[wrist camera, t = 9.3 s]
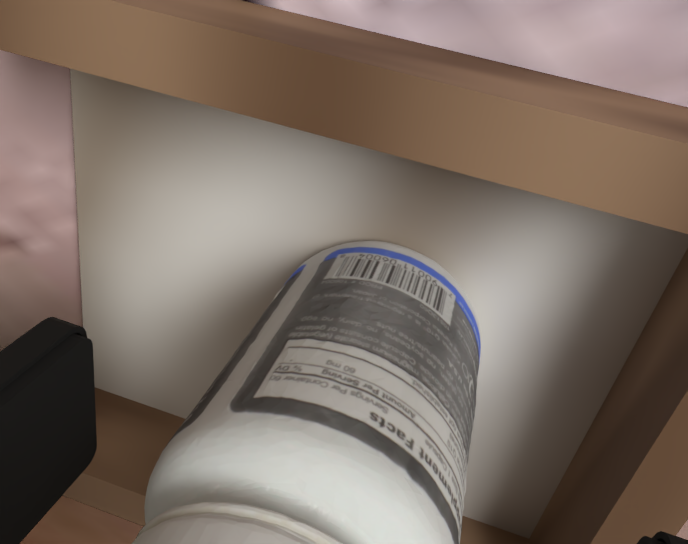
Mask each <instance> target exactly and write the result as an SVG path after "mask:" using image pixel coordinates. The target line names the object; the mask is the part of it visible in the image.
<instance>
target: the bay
mask: <svg viewBox="0 0 688 544" xmlns="http://www.w3.org/2000/svg"><path fill="white" fill-rule="evenodd" d="M0 50H3V51H7V52H11V53H14V54H18V55H22V56H26V57H29V58H33V59H37V60H41V61H44V62H48V63H52V64H55V65H59V66H63V67H67V68H70V79H71V98H72V118H73V138H74V158H75V177H76V197H77V217H78V237H79V257H80V276H81V296H82V316H83V328H84V329H85V330H86V333H87V338H89V339H91V341H92V343H93V360H94V384H95V409H96V434H97V449H96V452H95V455H94V457H93V459H92V461H91V463H90V464H89V465H88V467H87V468H86V469H85V470H84V471H83V472H82V474H81V475H80V476H79V477H78V478H77V479H76V480H75V481H74V483H73V484H72V485H71V486H70V487H69V488H68V489H67V490H66V492H65V493H64V494H63V495H62V496H65V497H68V498H70V499H73V500H75V501H78V502H81V503H83V504H86V505H89V506H91V507H94V508H96V509H99V510H102V511H104V512H107V513H110V514H112V515H115V516H117V517H120V518H123V519H125V520H128V521H131V522H133V523H136V524H139V525H141V526H145V525H146V524H145V509H144V506H145V497H146V491H147V486H148V482H149V478H150V476H151V474H152V471H153V469H154V467H155V465H156V463H157V461H158V459H159V457H160V455H161V453H162V451H163V450H164V448H165V447H166V445H167V444H168V442H169V441H170V439H171V438H172V437H173V435H174V434H175V433H176V431H177V430H178V429H179V427H180V426H181V425H182V423H183V422H184V420H185V419H186V418H187V417H188V415H189V414H190V413H191V412H192V410H193V409H194V408H195V406H196V405H197V404H198V402H199V401H200V399H201V398H202V397H203V395H204V394H205V393H206V391H207V390H208V389H209V387H210V386H211V384H212V383H213V381H214V380H215V379H216V377H217V376H218V375H219V373H220V372H221V371H222V369H223V368H224V367H225V365H226V364H227V362H228V361H229V360H230V358H231V357H232V356H233V354H234V352H235V351H236V350H237V348H238V347H239V346H240V344H241V342H242V341H243V340H244V339H245V337H246V336H247V335H248V334H249V332H250V331H251V329H252V328H253V326H254V325H255V324H256V322H257V321H258V320H259V319H260V317H261V316H262V314H263V313H264V311H265V310H266V309H267V307H268V306H269V305H270V303H271V302H272V300H273V299H274V297H275V296H276V294H277V293H278V292H279V291H280V289H281V288H282V287H283V285H284V284H285V283H286V281H287V280H288V279H289V278H290V276H291V275H292V274H293V273H294V272H295V271H296V270H297V269H298V268H299V266H300V265H302V264H303V263H304V262H305V261H306V260H308V259H309V258H311V257H312V256H314V255H316V254H318V253H319V252H321V251H323V250H326V249H328V248H331V247H334V246H337V245H341V244H345V243H350V242H358V241H381V242H388V243H392V244H396V245H400V246H403V247H406V248H409V249H411V250H414V251H416V252H418V253H420V254H422V255H424V256H426V257H428V258H430V259H432V260H434V261H435V262H436V263H438V264H439V265H440V266H441V267H443V268H444V269H445V270H446V271H447V272H448V273H449V274H450V275H451V276H452V277H453V278H454V279H455V280H456V281H457V282H458V284H459V285H460V286H461V288H462V289H463V290H464V292H465V293H466V295H467V296H468V298H469V300H470V302H471V304H472V306H473V308H474V310H475V313H476V316H477V319H478V323H479V328H480V333H481V350H480V363H479V370H478V377H477V389H476V407H475V417H474V421H473V430H472V434H471V443H470V448H469V458H468V466H467V476H466V493H465V496H464V509H463V515H462V531H461V538H460V544H637V542H638V541H639V540H640V539H641V538H642V537H643V536H647V537H650V538H652V537H653V536H654V535H655V534H656V533H657V532H660V531H662V532H666V533H669V534H671V535H674V536H676V534H677V533H678V532H679V530H680V529H681V528H682V526H683V525H684V523H685V522H686V521H687V519H688V108H687V107H683V106H679V105H675V104H671V103H667V102H662V101H658V100H654V99H650V98H646V97H642V96H637V95H633V94H629V93H625V92H621V91H617V90H612V89H608V88H604V87H600V86H596V85H592V84H587V83H583V82H579V81H575V80H571V79H567V78H562V77H558V76H554V75H550V74H546V73H542V72H538V71H533V70H529V69H525V68H521V67H517V66H512V65H508V64H504V63H500V62H496V61H492V60H488V59H483V58H479V57H475V56H471V55H467V54H463V53H458V52H454V51H450V50H446V49H442V48H438V47H433V46H429V45H425V44H421V43H417V42H413V41H408V40H404V39H400V38H396V37H392V36H388V35H383V34H379V33H375V32H371V31H367V30H363V29H358V28H354V27H350V26H346V25H342V24H338V23H333V22H329V21H325V20H321V19H317V18H313V17H308V16H304V15H300V14H296V13H292V12H288V11H283V10H279V9H275V8H271V7H267V6H263V5H258V4H254V3H250V2H246V1H242V0H0Z"/></svg>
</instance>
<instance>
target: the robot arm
mask: <svg viewBox="0 0 688 544" xmlns="http://www.w3.org/2000/svg"><path fill="white" fill-rule="evenodd" d="M96 449H97V434H96V409H95V384H94V360H93V343H92V341H91V339H89V338H87V333H86V330H85V329H84V328H83V327H80V326H77V325H74V324H72V323H69V322H66V321H63V320H60V319H57V318H55V317H50V318H47V319H45V320H43V321H42V322H40V323H39V324H38V325H36V326H35V327H33V328H32V329H31V330H29V331H28V332H27V333H25V334H24V335H22V336H21V337H20V338H18V339H17V340H16V341H14V342H13V343H12V344H10V345H9V346H7V347H6V348H5V349H3V350H2V351H1V352H0V544H19V543H20V542H21V541H22V540H23V539H24V538H25V537H26V535H27V534H28V533H29V532H30V531H31V530H32V529H33V528H34V526H35V525H36V524H37V523H38V522H39V521H40V520H41V519H42V517H43V516H44V515H45V514H46V513H47V512H48V511H49V510H50V508H51V507H52V506H53V505H54V504H55V503H56V502H57V501H58V499H59V498H60V497H61V496H62V495H63V494H64V493H65V492H66V490H67V489H68V488H69V487H70V486H71V485H72V484H73V483H74V481H75V480H76V479H77V478H78V477H79V476H80V475H81V474H82V472H83V471H84V470H85V469H86V468H87V467H88V465H89V464H90V463H91V461H92V459H93V457H94V455H95V452H96ZM637 544H688V540H686V539H683V538H680V537H677V536H674V535H671V534H669V533H666V532H662V531H660V532H657V533H656V534H655V535H654V536H653V537H652V538H650V537H647V536H643V537H642V538H641V539H640V540H639V541H638V542H637Z"/></svg>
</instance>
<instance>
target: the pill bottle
mask: <svg viewBox="0 0 688 544" xmlns="http://www.w3.org/2000/svg"><path fill="white" fill-rule="evenodd" d="M480 350H481V333H480V328H479V323H478V319H477V316H476V313H475V310H474V308H473V306H472V304H471V302H470V300H469V298H468V296H467V295H466V293H465V292H464V290H463V289H462V288H461V286H460V285H459V284H458V282H457V281H456V280H455V279H454V278H453V277H452V276H451V275H450V274H449V273H448V272H447V271H446V270H445V269H444V268H443V267H441V266H440V265H439V264H438V263H436V262H435V261H434V260H432V259H430V258H428V257H426V256H424V255H422V254H420V253H418V252H416V251H414V250H411V249H409V248H406V247H403V246H400V245H396V244H392V243H388V242H381V241H358V242H350V243H345V244H341V245H337V246H334V247H331V248H328V249H326V250H323V251H321V252H319V253H318V254H316V255H314V256H312V257H311V258H309V259H308V260H306V261H305V262H304V263H303V264H302V265H300V266H299V268H298V269H297V270H296V271H295V272H294V273H293V274H292V275H291V276H290V278H289V279H288V280H287V281H286V283H285V284H284V285H283V287H282V288H281V289H280V291H279V292H278V293H277V294H276V296H275V297H274V299H273V300H272V302H271V303H270V305H269V306H268V307H267V309H266V310H265V311H264V313H263V314H262V316H261V317H260V319H259V320H258V321H257V322H256V324H255V325H254V326H253V328H252V329H251V331H250V332H249V334H248V335H247V336H246V337H245V339H244V340H243V341H242V342H241V344H240V346H239V347H238V348H237V350H236V351H235V352H234V354H233V356H232V357H231V358H230V360H229V361H228V362H227V364H226V365H225V367H224V368H223V369H222V371H221V372H220V373H219V375H218V376H217V377H216V379H215V380H214V381H213V383H212V384H211V386H210V387H209V389H208V390H207V391H206V393H205V394H204V395H203V397H202V398H201V399H200V401H199V402H198V404H197V405H196V406H195V408H194V409H193V410H192V412H191V413H190V414H189V415H188V417H187V418H186V419H185V420H184V422H183V423H182V425H181V426H180V427H179V429H178V430H177V431H176V433H175V434H174V435H173V437H172V438H171V439H170V441H169V442H168V444H167V445H166V447H165V448H164V450H163V451H162V453H161V455H160V457H159V459H158V461H157V463H156V465H155V467H154V469H153V471H152V474H151V476H150V478H149V482H148V486H147V491H146V497H145V506H144V509H145V524H146V525H145V526H144V527H143V528H142V529H141V530H140V532H139V534H138V536H137V537H136V539H135V540H134V541H133V543H132V544H460V538H461V531H462V515H463V509H464V496H465V493H466V476H467V466H468V458H469V448H470V443H471V434H472V430H473V421H474V417H475V407H476V389H477V377H478V370H479V363H480Z"/></svg>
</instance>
